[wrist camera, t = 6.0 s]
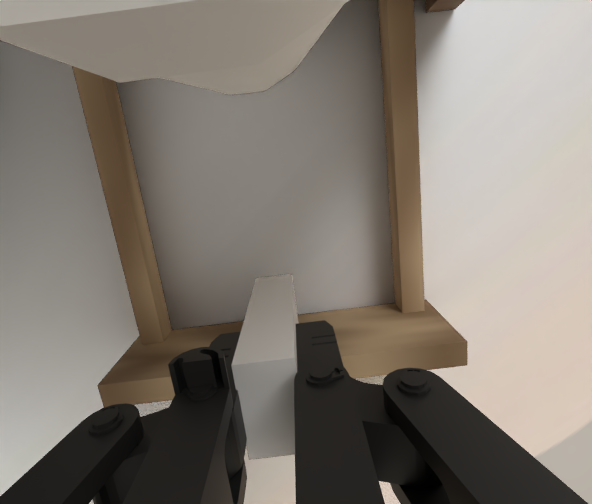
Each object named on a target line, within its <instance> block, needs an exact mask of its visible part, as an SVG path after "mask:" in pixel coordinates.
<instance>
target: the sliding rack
mask: <svg viewBox="0 0 592 504" xmlns="http://www.w3.org/2000/svg"><path fill="white" fill-rule="evenodd" d="M378 7H379V25H380V43H381V61H382V79H383V96H384V114H385V132H386V150H387V168H388V186H389V204H390V221H391V239H392V257H393V275H394V293H395V303H392V304H384V305H376V306H367V307H359V308H351V309H342V310H334V311H326V312H317V313H309V314H301V315H298V322H299V323H306V322H314V321H322V320H325V321H327V322H328V323H329V324H331V325H332V326H333V329H334V332H335V336H336V340H337V344H338V347H339V351H340V355H341V359H342V362H343V366H344V368H345V369H346V370H347V372H348V373H349V376H350V377H352V378H363V377H371V376H380V375H388V374H389V373H390V372H393V371H395V370H397V369H403V368H420V369H424V370H431V369H439V368H448V367H456V366H465V365H467V341H466V340H465V339H464V338H463V337H462V336H461V335H460V334H459V333H458V332H457V331H456V330H455V329H454V328H453V327H452V326H451V325H450V324H449V323H448V322H447V321H446V319H445V318H444V317H443V316H442V315H441V314H440V313H439V312H438V311H437V310H436V309H435V308H434V307H433V306H432V305H431V304H430V303H429V302H428V301H427V300H424V281H423V251H422V222H421V193H420V164H419V135H418V106H417V77H416V48H415V19H414V0H378ZM72 67H73V71H74V75H75V79H76V83H77V87H78V91H79V95H80V99H81V103H82V107H83V111H84V115H85V119H86V123H87V127H88V131H89V135H90V139H91V143H92V147H93V151H94V155H95V159H96V163H97V167H98V171H99V175H100V179H101V183H102V187H103V191H104V195H105V199H106V203H107V207H108V211H109V215H110V219H111V223H112V227H113V231H114V235H115V239H116V243H117V247H118V251H119V255H120V259H121V263H122V267H123V271H124V275H125V279H126V283H127V287H128V291H129V295H130V299H131V303H132V307H133V311H134V315H135V319H136V323H137V326H138V330H139V334H140V336H139V337H138V338H137V340H136V341H135V342H134V343H133V344H132V345H131V347H130V348H129V349H128V350H127V351H126V352H125V354H124V355H123V356H122V357H121V358H120V360H119V361H118V362H117V363H116V364H115V365H114V367H113V368H112V369H111V370H110V371H109V372H108V374H107V375H106V376H105V377H104V378H103V379H102V381H101V382H100V383H99V384H98V389H99V392H100V395H101V399H102V402H103V406H104V407H107V406H110V405H115V404H124V403H128V404H132V405H134V404H142V403H151V402H159V401H168V400H173V398H174V396H175V392H174V388H173V384H172V380H171V375H170V371H169V367H168V364H169V363H170V362H171V361H172V359H173V358H175V357H177V356H178V355H180V354H181V353H184V352H186V351H189V350H191V349H195V348H200V347H209V346H210V344H211V342H212V341H213V340H214V339H215V338H217V337H218V336H219V335H220V334H225V333H233V332H241V329H242V326H243V322H244V321H242V322H234V323H225V324H217V325H209V326H200V327H192V328H184V329H175V330H172V328H171V324H170V320H169V315H168V311H167V306H166V302H165V297H164V293H163V289H162V284H161V280H160V275H159V271H158V266H157V262H156V258H155V253H154V249H153V244H152V240H151V235H150V231H149V227H148V222H147V218H146V213H145V209H144V204H143V200H142V196H141V191H140V187H139V182H138V178H137V173H136V169H135V165H134V160H133V156H132V151H131V147H130V142H129V138H128V133H127V129H126V125H125V120H124V116H123V111H122V107H121V102H120V98H119V94H118V89H117V85H116V81H114V80H111V79H108V78H105V77H102V76H100V75H97V74H94V73H91V72H88V71H85V70H83V69H80V68H77V67H74V66H72Z"/></svg>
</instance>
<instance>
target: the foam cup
mask: <svg viewBox="0 0 592 504" xmlns="http://www.w3.org/2000/svg"><path fill="white" fill-rule="evenodd" d="M348 1H349V0H0V40H1V41H4V42H6V43H9V44H12V45H15V46H18V47H21V48H23V49H26V50H29V51H32V52H35V53H38V54H40V55H43V56H46V57H49V58H52V59H54V60H57V61H60V62H63V63H66V64H69V65H71V66H74V67H77V68H80V69H83V70H85V71H88V72H91V73H94V74H97V75H100V76H102V77H105V78H108V79H111V80H114V81H117V82H119V83H121V82H129V81H137V80H145V79H152V78H162V79H166V80H170V81H174V82H179V83H183V84H187V85H191V86H195V87H200V88H204V89H208V90H212V91H216V92H220V93H225V94H229V95H237V94H245V93H253V92H260V91H266V90H267V89H269V88H270V87H272V86H273V85H275V84H276V83H278V82H279V81H280V80H282V79H283V78H285V77H286V76H288V75H289V74H290V73H292V72H293V71H294V70H295V69H296V68H297V67H298V65H299V64H300V63H301V61H302V60H303V59H304V57H305V56H306V55H307V53H308V52H309V51H310V49H311V48H312V46H313V45H314V44H315V42H316V41H317V40H318V38H319V37H320V36H321V34H322V33H323V32H324V30H325V29H326V28H327V26H328V25H329V24H330V22H331V21H332V20H333V18H334V17H335V16H336V14H337V13H338V12H339V10H340V9H341V8H342V6H343V5H344V4H345V3H347V2H348Z"/></svg>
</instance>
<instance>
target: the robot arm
mask: <svg viewBox="0 0 592 504" xmlns="http://www.w3.org/2000/svg"><path fill="white" fill-rule="evenodd" d="M168 367H169V371H170V375H171V380H172V384H173V388H174V392H175V396H174V398H173V400H172V402H171V405H170V407H169V408H166V409H163V410H161V411H158V412H155V413H152V414H149V415H146V416H143V417H140V414H139V410H138V409H137V408H136V407H135V405H132V404H128V403H124V404H115V405H110V406H107V407H104V408H102V409H101V410H99V411H97V412H95V413H93V414H91V415H90V416H89V417H87V418H86V419H85V420H83V421H82V422H81V423H80V424H79V425H78V426H77V427H75V428H74V429H73V430H72V431H71V432H70V433H69V434H68V435H67V436H66V437H65V438H64V439H62V440H61V441H60V442H59V443H58V444H57V445H56V446H55V447H54V448H53V449H52V450H50V451H49V452H48V453H47V454H46V455H45V456H44V457H43V458H42V459H41V460H40V461H38V462H37V463H36V464H35V465H34V466H33V467H32V468H31V469H30V470H29V471H28V472H26V473H25V474H24V475H23V476H22V477H21V478H20V479H19V480H18V481H17V482H16V483H14V484H13V485H12V486H11V487H10V488H9V489H8V490H7V491H6V492H5V493H4V494H2V495H1V496H0V504H89V503H90V501H91V500H92V499H93V502H94V504H243V503H244V496H245V488H246V480H247V474H246V467H245V462H244V454H245V448H246V446H247V451H248V457H249V460H251V459H259V458H268V457H276V456H285V455H293V454H295V476H296V504H385V503H384V499H383V496H382V492H381V488H380V485H379V481H383V482H389V483H390V484H391V487H392V489H393V492H394V493H395V495H396V497H397V498H398V500H399V502H400V503H401V504H588V503H587V502H585V501H584V500H583V499H582V498H581V497H580V496H579V495H577V494H576V493H575V492H574V491H573V490H572V489H570V488H569V487H568V486H567V485H566V484H564V483H563V482H562V481H561V480H560V479H559V478H557V477H556V476H555V475H554V474H553V473H552V472H550V471H549V470H548V469H547V468H546V467H545V466H543V465H542V464H541V463H540V462H539V461H538V460H536V459H535V458H534V457H533V456H532V455H531V454H529V453H528V452H527V451H526V450H525V449H524V448H522V447H521V446H520V445H519V444H518V443H517V442H515V441H514V440H513V439H512V438H511V437H510V436H508V435H507V434H506V433H505V432H504V431H502V430H501V429H500V428H499V427H498V426H497V425H495V424H494V423H493V422H492V421H491V420H490V419H488V418H487V417H486V416H485V415H484V414H483V413H481V412H480V411H479V410H478V409H477V408H476V407H474V406H473V405H472V404H471V403H470V402H469V401H467V400H466V399H465V398H464V397H463V396H462V395H460V394H459V393H458V392H457V391H456V390H455V389H453V388H452V387H451V386H450V385H449V384H447V383H446V382H445V381H444V380H443V379H442V378H440V377H439V376H437V375H436V374H434V373H432V372H430V371H427V370H424V369H420V368H403V369H397V370H395V371H393V372H390V373H389V374H388V375H387V376H386V377H385V378H384V381H383V385H377V384H369V383H363V382H360V381H358V380H355V379H354V378H352V377H350V376H349V373H348V372H347V370H346V369H345V368H344V366H343V362H342V359H341V355H340V351H339V347H338V344H337V340H336V336H335V332H334V329H333V326H332V325H331V324H329V323H328V322H327V321H325V320H322V321H314V322H306V323H299V322H298V315H297V307H296V299H295V292H294V284H293V276H292V274H285V275H277V276H268V277H260V278H256V280H255V283H254V287H253V290H252V294H251V297H250V301H249V305H248V308H247V312H246V315H245V319H244V322H243V326H242V329H241V332H233V333H225V334H220V335H219V336H218V337H217V338H215V339H214V340H213V341H212V342H211V344H210V346H209V347H200V348H195V349H191V350H189V351H186V352H184V353H181V354H180V355H178V356H177V357H175V358H173V359H172V361H171V362H170V363H169V364H168Z"/></svg>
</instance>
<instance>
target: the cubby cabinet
mask: <svg viewBox="0 0 592 504" xmlns="http://www.w3.org/2000/svg"><path fill="white" fill-rule="evenodd" d="M463 1H464V0H426V13H428V12H436V11H444V10H452V9H456V8H457V7H458V6H459V5H460V4H461V3H462V2H463Z"/></svg>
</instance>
